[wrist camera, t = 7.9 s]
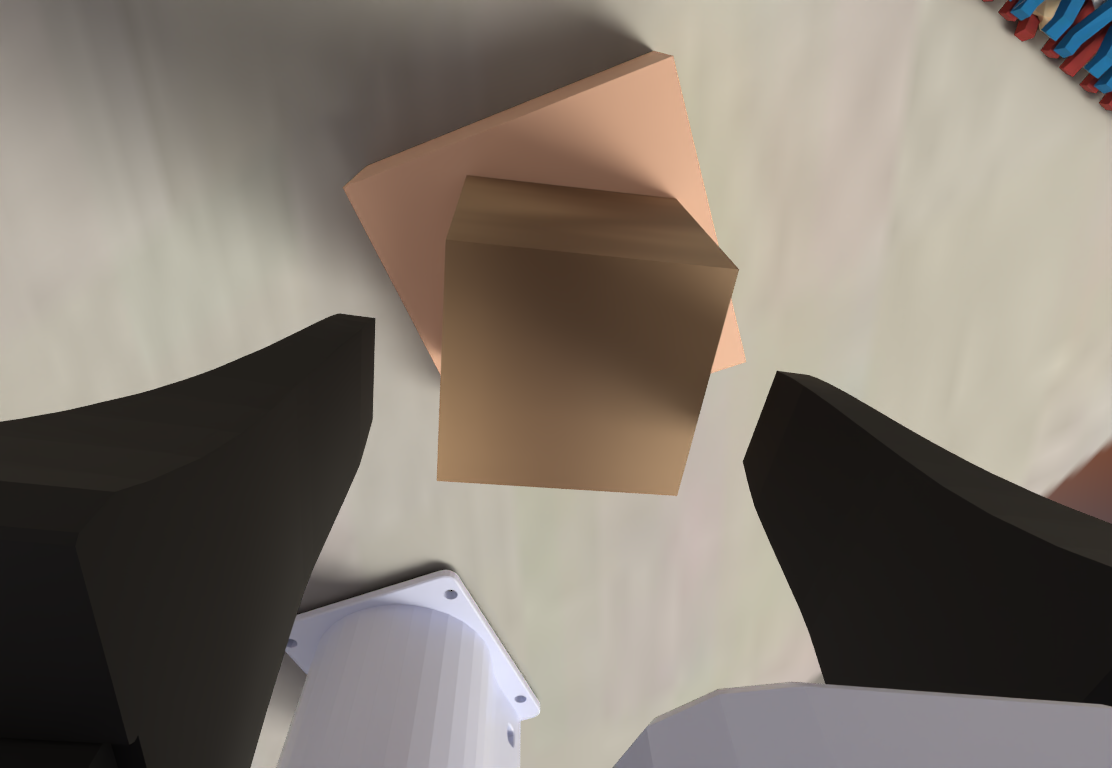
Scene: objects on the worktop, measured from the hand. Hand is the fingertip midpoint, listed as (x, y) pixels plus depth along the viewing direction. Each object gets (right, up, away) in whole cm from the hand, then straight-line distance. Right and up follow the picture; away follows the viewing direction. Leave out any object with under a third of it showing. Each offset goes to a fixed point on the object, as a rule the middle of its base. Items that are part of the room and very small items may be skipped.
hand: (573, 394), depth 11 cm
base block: (0, +4, +7) cm, 9 cm away
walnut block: (0, +3, +5) cm, 6 cm away
